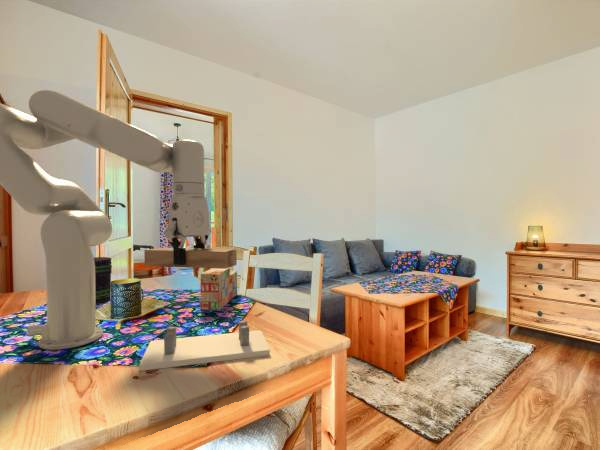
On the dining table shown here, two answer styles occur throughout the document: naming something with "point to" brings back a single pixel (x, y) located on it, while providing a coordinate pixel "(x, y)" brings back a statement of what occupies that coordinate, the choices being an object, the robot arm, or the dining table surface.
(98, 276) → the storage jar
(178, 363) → the peg stand
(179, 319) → the dining table surface
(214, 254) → the shelf board
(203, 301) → the stack of blocks
